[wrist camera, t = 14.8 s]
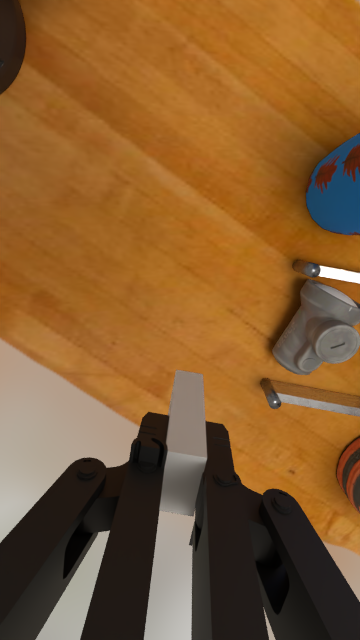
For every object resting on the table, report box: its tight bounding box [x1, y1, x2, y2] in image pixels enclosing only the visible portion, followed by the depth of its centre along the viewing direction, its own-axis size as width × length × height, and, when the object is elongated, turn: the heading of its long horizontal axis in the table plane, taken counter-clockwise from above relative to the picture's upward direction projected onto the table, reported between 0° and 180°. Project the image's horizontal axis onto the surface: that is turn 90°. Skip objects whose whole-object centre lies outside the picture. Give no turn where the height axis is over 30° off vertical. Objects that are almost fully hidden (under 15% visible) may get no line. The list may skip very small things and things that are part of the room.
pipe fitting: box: [272, 279, 360, 375], centre depth 41 cm, size 12×8×10 cm
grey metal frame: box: [261, 260, 360, 416], centre depth 43 cm, size 18×20×6 cm
